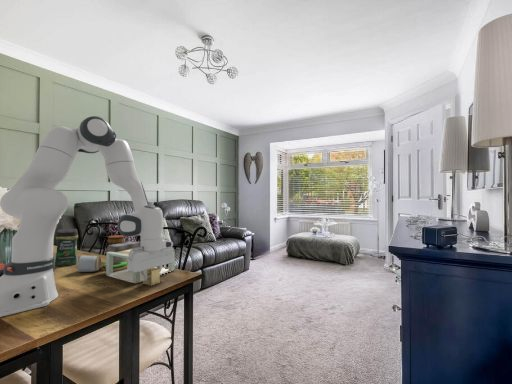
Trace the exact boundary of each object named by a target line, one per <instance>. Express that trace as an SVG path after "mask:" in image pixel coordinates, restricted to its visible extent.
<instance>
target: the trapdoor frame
mask: <svg viewBox="0 0 512 384" xmlns="http://www.w3.org/2000/svg"><path fill="white" fill-rule="evenodd" d="M105 253H106V256H105V257H106V258H105V262H106V263H105V264H106V267H105V269H106V270H105V276H107V277H109V278H114V279H117V280H121V281H125V282H129V283H133V284H138V283H141V282H144V280H143V275H142V274H141V271H140V272H136V273H131V272H129V271H128V270H127V268H125V269H122V270H118V271H117V270H116V271H114V268H113V256H116V257H121V258H126V259H129V255H126V254H121V253H116V252H105ZM175 254H176V249H174V248H173V261H172V263H169V264H168V269H165V268H166V267H164V266H162V269H161V271H160V275H161V276H163V275H162V274H164V275H166V274H165V273H167V274H169V273H168V272H171V271H173V270H174V269H175V268H176V265H175V264H176V255H175ZM154 268H156V267H154ZM175 270H176V269H175ZM171 273H172V272H171Z"/></svg>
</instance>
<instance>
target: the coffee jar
mask: <svg viewBox="0 0 512 384" xmlns="http://www.w3.org/2000/svg"><path fill="white" fill-rule="evenodd" d="M78 239H79V233H78V229H77V228H62V229H58V230H57V231H56V233H55V240H56V254H55V257H54V259H55V267H65V266H72V265H76V264H78V260H79V258H78V249H77V247H78V246H77V244H78V243H77V240H78Z"/></svg>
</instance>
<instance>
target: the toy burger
mask: <svg viewBox="0 0 512 384" xmlns="http://www.w3.org/2000/svg"><path fill="white" fill-rule="evenodd" d="M124 239H125V236H123V235H121V234H120V235H119V234H118V235H117V234H115V235H109V236H107V244H108V245H114V244H120V243H125V241H124ZM106 252H108V246H107V247H106V248H105V250H104V253H106ZM127 265H128V259H126V258H121V257H116V258H114V257H113V269H114V268H120V267H124V266H127ZM103 267H105V268H106V263H104V264H103Z"/></svg>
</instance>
